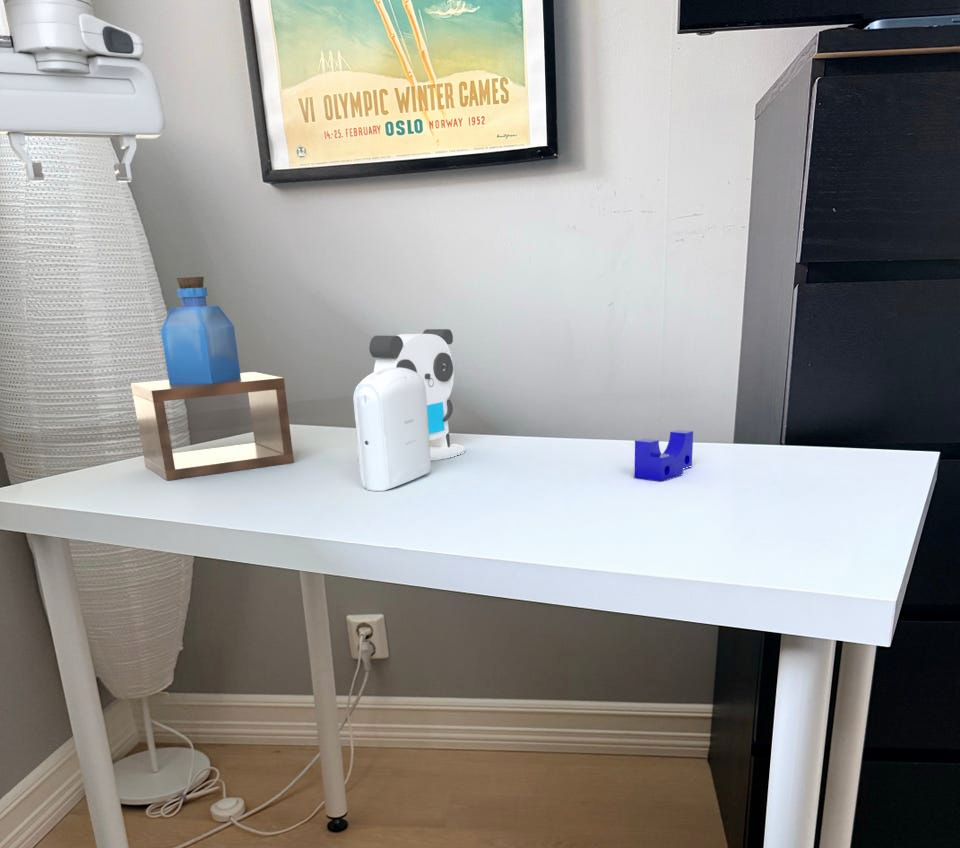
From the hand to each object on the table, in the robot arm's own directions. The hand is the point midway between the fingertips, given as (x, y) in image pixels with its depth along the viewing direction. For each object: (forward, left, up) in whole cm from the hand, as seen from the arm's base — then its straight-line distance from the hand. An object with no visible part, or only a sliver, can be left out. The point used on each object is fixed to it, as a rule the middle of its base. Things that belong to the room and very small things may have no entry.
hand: (81, 181), depth 105 cm
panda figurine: (+33, -15, -33) cm, 49 cm away
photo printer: (+23, -29, -33) cm, 50 cm away
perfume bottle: (+10, -3, -23) cm, 25 cm away
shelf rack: (+10, -3, -33) cm, 35 cm away
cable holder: (+48, -46, -33) cm, 74 cm away
